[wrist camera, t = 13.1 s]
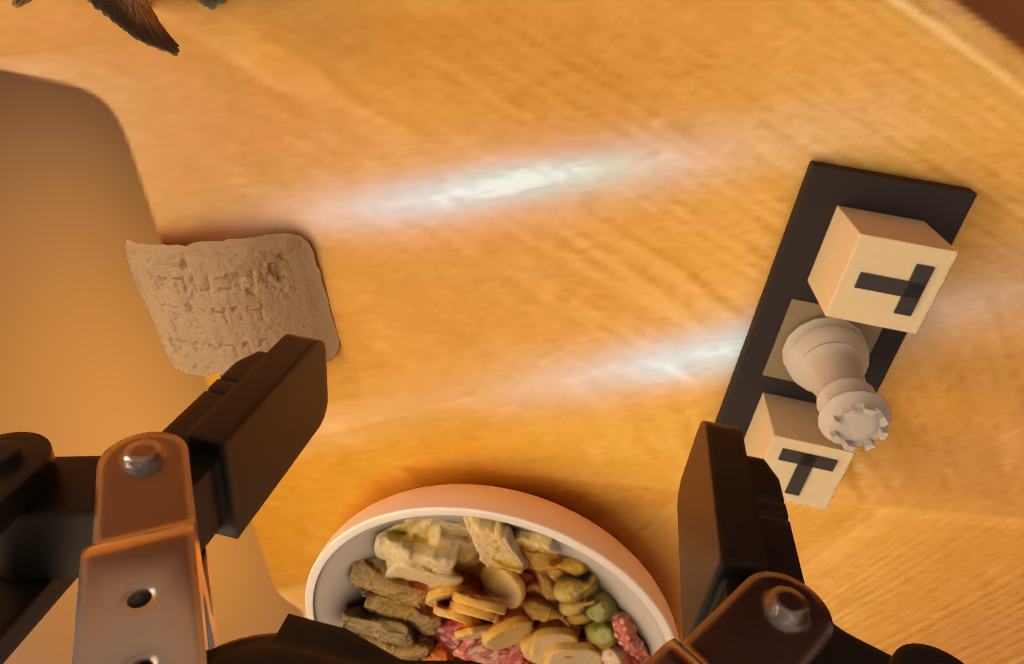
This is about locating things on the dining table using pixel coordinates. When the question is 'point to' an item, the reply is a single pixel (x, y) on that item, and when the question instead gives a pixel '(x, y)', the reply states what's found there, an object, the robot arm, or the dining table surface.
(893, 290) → the tile
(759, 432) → the tile
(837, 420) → the rook chess piece
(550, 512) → the bowl
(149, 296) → the clay tablet
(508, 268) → the dining table surface
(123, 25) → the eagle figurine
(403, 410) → the dining table surface
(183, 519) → the robot arm
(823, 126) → the dining table surface
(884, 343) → the word mat
